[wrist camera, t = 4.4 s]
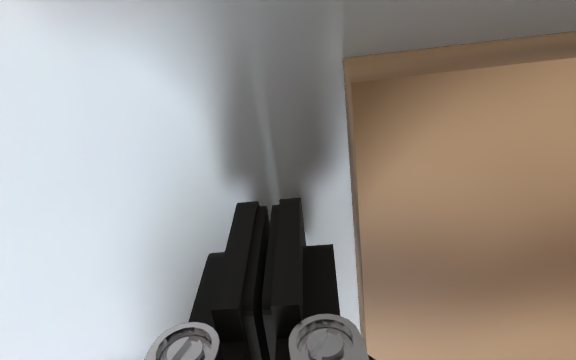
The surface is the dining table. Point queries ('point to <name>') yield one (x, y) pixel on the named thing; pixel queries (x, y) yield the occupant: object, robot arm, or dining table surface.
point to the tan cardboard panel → (465, 199)
